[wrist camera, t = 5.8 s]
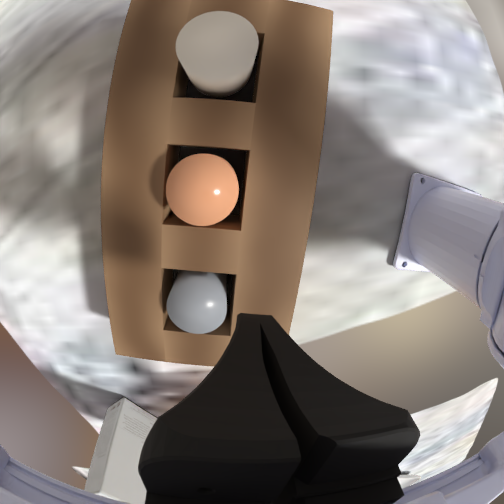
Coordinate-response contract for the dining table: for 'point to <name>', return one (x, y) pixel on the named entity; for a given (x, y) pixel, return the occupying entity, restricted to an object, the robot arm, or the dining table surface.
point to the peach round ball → (202, 189)
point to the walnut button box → (210, 136)
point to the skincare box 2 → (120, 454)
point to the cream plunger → (218, 52)
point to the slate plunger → (198, 301)
